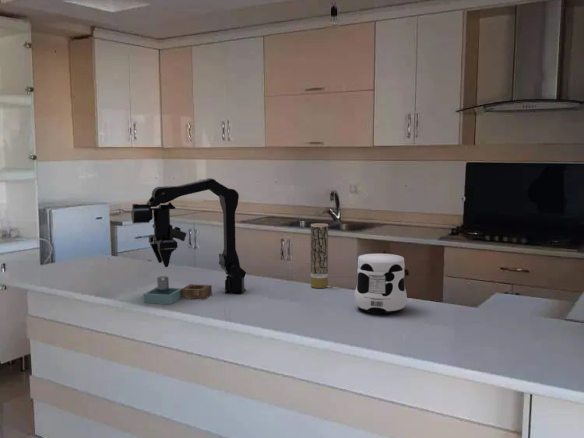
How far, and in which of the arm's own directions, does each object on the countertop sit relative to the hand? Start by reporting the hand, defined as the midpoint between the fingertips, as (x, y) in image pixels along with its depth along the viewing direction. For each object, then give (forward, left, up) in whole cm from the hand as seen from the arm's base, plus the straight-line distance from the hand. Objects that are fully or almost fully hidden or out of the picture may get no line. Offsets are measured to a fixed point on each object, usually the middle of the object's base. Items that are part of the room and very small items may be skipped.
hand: (163, 264), depth 204 cm
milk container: (-78, -2, -13) cm, 79 cm away
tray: (0, 0, -13) cm, 13 cm away
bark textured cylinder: (-52, -31, -13) cm, 62 cm away
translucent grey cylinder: (0, 0, -12) cm, 12 cm away
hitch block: (-10, -7, -13) cm, 18 cm away
